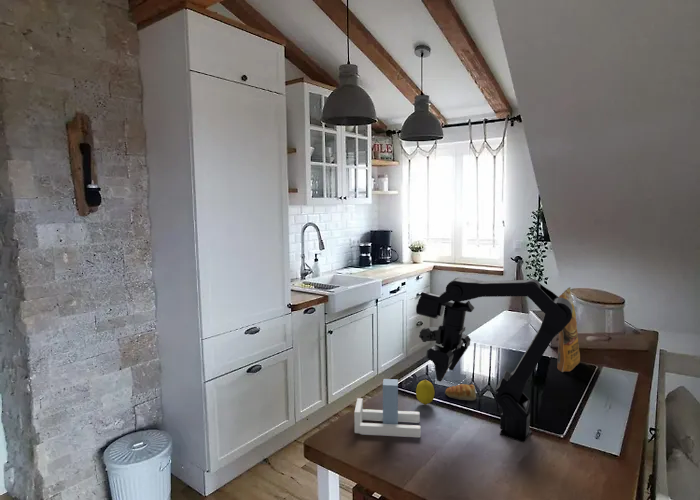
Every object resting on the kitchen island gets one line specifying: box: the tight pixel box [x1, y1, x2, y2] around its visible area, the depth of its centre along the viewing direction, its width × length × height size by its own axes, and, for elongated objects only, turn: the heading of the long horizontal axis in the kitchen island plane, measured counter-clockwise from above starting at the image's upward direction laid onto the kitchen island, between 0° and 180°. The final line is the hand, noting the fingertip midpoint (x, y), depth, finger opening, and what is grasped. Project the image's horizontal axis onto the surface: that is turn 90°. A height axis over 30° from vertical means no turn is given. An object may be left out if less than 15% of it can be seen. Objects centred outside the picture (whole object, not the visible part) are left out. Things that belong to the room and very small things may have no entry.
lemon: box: [415, 379, 436, 406], centre depth 135 cm, size 6×6×8 cm
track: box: [353, 397, 422, 438], centre depth 123 cm, size 18×9×6 cm, turn 83°
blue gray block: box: [382, 378, 399, 425], centre depth 122 cm, size 4×4×13 cm
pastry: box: [444, 383, 477, 401], centre depth 141 cm, size 9×7×4 cm
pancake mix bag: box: [556, 286, 581, 373], centre depth 163 cm, size 7×19×28 cm, turn 137°
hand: (445, 375), depth 126 cm, fingers open, 9 cm apart
